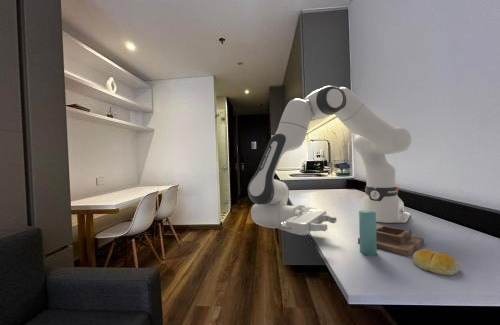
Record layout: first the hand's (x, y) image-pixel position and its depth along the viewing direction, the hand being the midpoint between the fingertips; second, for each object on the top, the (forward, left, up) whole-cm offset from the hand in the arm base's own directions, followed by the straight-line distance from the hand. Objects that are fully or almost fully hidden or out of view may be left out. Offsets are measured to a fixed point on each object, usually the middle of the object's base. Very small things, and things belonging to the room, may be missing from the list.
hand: (331, 223), depth 75 cm
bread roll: (-6, +25, -7) cm, 27 cm away
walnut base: (-15, +12, -7) cm, 20 cm away
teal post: (-3, +10, -7) cm, 13 cm away
